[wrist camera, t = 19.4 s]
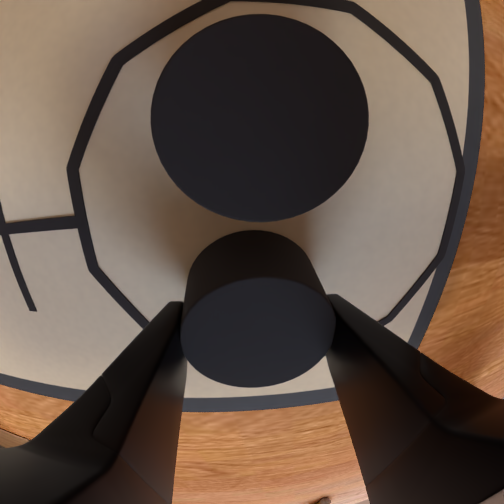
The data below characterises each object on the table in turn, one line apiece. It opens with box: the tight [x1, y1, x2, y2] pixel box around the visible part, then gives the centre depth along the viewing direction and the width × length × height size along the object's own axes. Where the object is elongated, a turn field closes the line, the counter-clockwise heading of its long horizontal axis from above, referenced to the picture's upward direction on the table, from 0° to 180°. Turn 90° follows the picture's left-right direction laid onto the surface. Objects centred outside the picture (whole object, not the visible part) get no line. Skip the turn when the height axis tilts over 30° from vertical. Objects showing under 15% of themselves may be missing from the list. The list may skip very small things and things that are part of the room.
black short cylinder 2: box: [179, 230, 336, 388], centre depth 8 cm, size 4×4×2 cm
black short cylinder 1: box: [150, 14, 369, 222], centre depth 6 cm, size 4×4×2 cm
